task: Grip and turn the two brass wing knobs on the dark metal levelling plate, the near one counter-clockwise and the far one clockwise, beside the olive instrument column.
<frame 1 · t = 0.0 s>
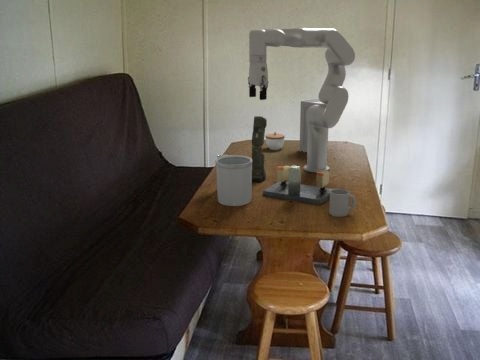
hand: (257, 98, 250), 37 cm above the table, tool pointing down, fingers open, 9 cm apart
white upright slab: (312, 151, 311), on the table
level plate: (298, 194, 237), on the table
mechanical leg: (258, 179, 260), on the table
lidded jar: (274, 149, 317), on the table
knob a: (283, 174, 243), point 7 cm above the table, hinge at 0.0°
cup: (342, 214, 214), on the table
knob b: (322, 180, 234), point 7 cm above the table, hinge at 0.0°
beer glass: (224, 190, 244), on the table
utensil holder: (234, 201, 230), on the table
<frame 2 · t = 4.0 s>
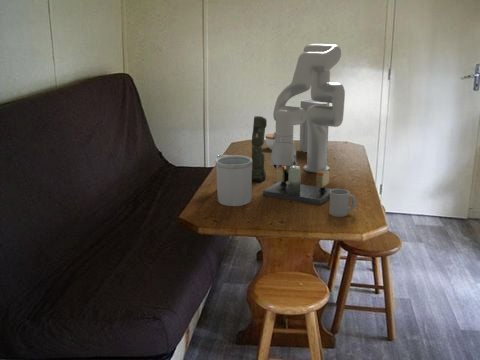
hand: (283, 179, 244), 4 cm above the table, tool pointing down, fingers closed on knob a, 2 cm apart
knob a: (283, 174, 243), point 7 cm above the table, hinge at 0.0°, touching gripper
everything else where it was.
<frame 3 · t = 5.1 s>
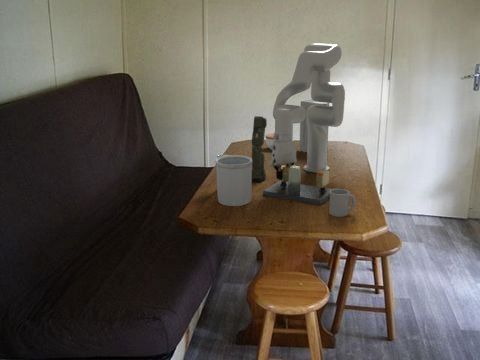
hand: (283, 178, 244), 5 cm above the table, tool pointing down, fingers closed on knob a, 3 cm apart
knob a: (283, 174, 243), point 7 cm above the table, hinge at 42.1°, touching gripper
everything else where it was.
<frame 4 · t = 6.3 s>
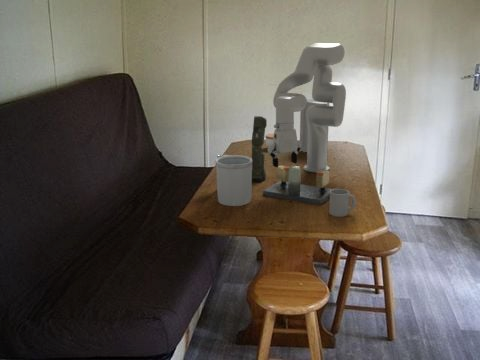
hand: (284, 164, 242), 11 cm above the table, tool pointing down, fingers open, 9 cm apart
knob a: (283, 174, 243), point 7 cm above the table, hinge at 50.9°
everything else where it was.
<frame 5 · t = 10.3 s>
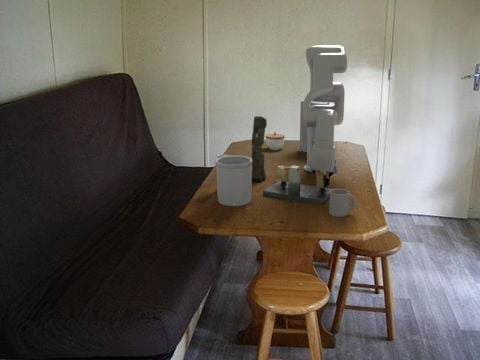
hand: (322, 185, 235), 4 cm above the table, tool pointing down, fingers closed on knob b, 2 cm apart
knob a: (283, 174, 243), point 7 cm above the table, hinge at 51.2°
knob b: (322, 180, 234), point 7 cm above the table, hinge at 0.0°, touching gripper
everything else where it was.
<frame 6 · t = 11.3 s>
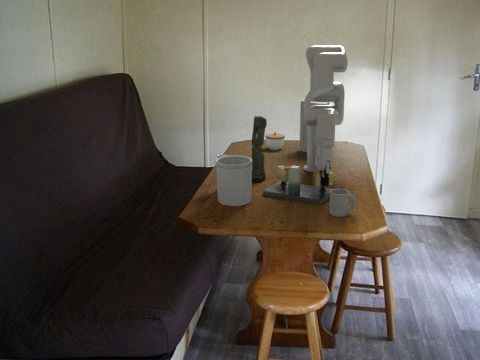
hand: (323, 184, 235), 5 cm above the table, tool pointing down, fingers closed on knob b, 3 cm apart
knob b: (322, 180, 234), point 7 cm above the table, hinge at -41.5°, touching gripper
everything else where it was.
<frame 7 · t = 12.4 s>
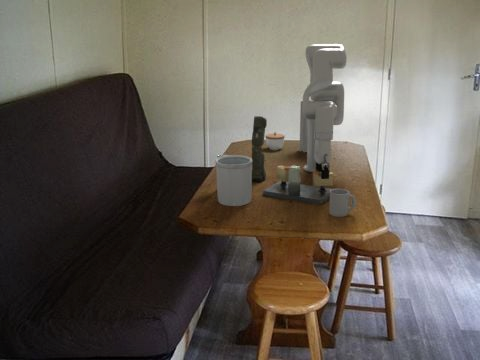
hand: (322, 175, 235), 8 cm above the table, tool pointing down, fingers open, 9 cm apart
knob b: (322, 180, 234), point 7 cm above the table, hinge at -50.8°
everything else where it was.
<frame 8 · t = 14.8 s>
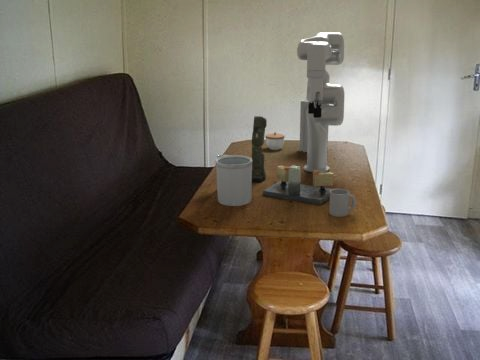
hand: (314, 115, 235), 32 cm above the table, tool pointing down, fingers open, 9 cm apart
knob b: (322, 180, 234), point 7 cm above the table, hinge at -51.2°
everything else where it was.
at the end: knob a at +51° (first picture: +0°); knob b at -51° (first picture: +0°) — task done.
